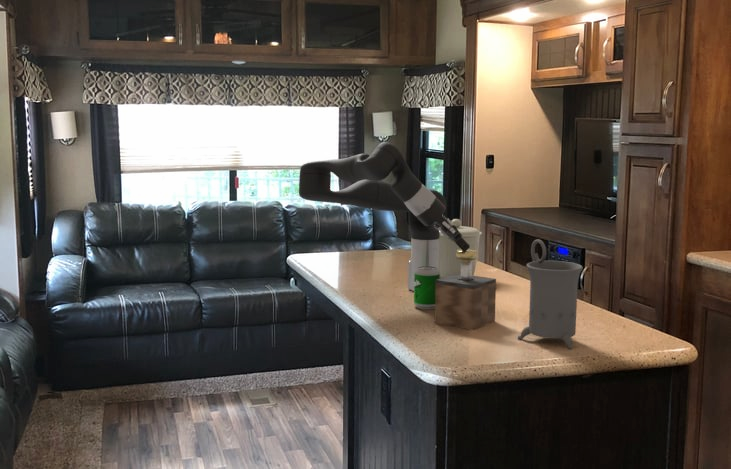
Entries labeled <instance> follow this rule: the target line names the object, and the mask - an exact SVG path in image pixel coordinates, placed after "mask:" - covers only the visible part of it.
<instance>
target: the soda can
mask: <svg viewBox="0 0 731 469" xmlns="http://www.w3.org/2000/svg"><path fill="white" fill-rule="evenodd" d="M437 279H441V278H440V271H439V270H438V269H437V267H433V266H420V267H417V269H416V270H415V271H414V291H413V304H414V306H415V307H416V308H417V309H419V310H427V311H428V310H435V291H436V280H437Z"/></svg>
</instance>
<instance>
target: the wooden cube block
mask: <svg viewBox="0 0 731 469" xmlns="http://www.w3.org/2000/svg"><path fill="white" fill-rule="evenodd" d="M496 292H497V278H495V277H485V276H479V275H473V276H472V280H471V281H463V280H461V274H455V275H452V276H448V277H445V278H440V279H437V280H436V291H435V309H434V323H435V324H439V325H444V326H449V327H456V328H461V329H466V330H471V331H474V330H477V329H479V328H481V327H485V326H486V325H489V324H491V323H494V322H495V321H496V295H497V293H496Z"/></svg>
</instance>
